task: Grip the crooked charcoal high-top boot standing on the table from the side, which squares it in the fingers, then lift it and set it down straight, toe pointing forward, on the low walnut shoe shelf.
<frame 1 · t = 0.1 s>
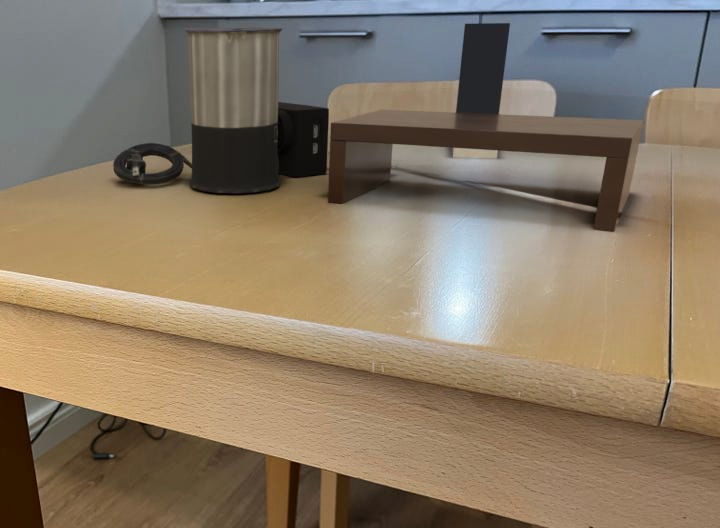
milk frother: (197, 186, 77), on the table
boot: (472, 151, 96), on the table
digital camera: (279, 171, 85), on the table
shoe shelf: (477, 201, 69), on the table
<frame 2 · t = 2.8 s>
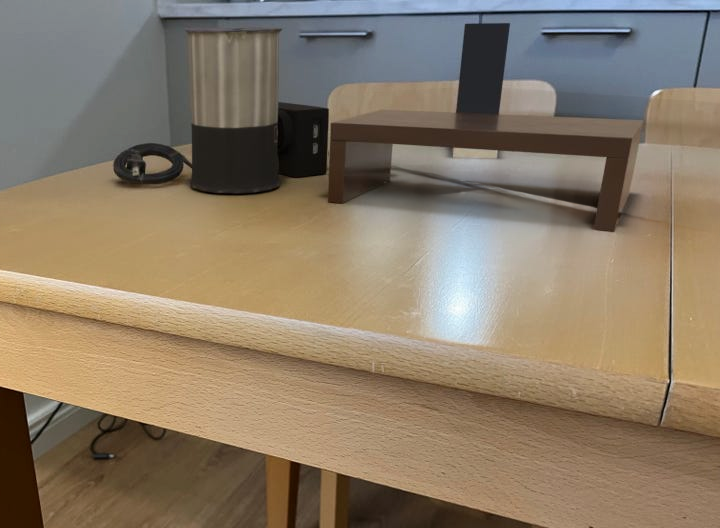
nothing on the table moved.
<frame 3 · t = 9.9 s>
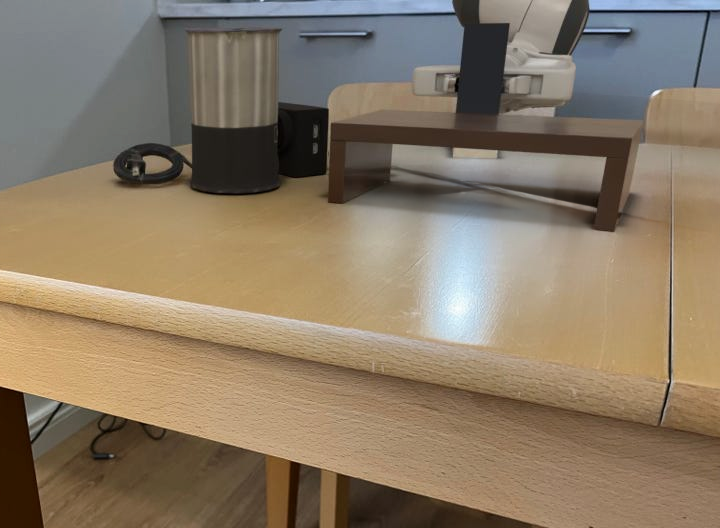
hand: (478, 85, 92), 8 cm above the table, tool horizontal, fingers closed on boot, 5 cm apart
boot: (472, 151, 96), on the table, touching gripper
everything else where it was.
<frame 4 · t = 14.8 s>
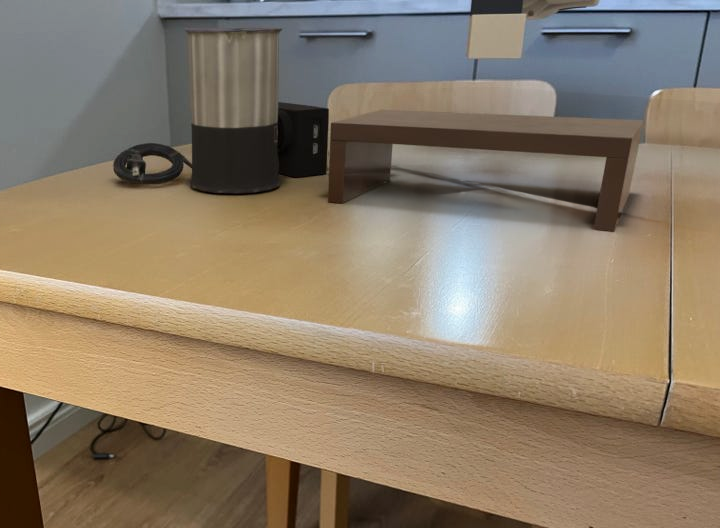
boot: (490, 56, 81), point 12 cm above the table, touching gripper
everything else where it was.
when the fingers open (15 cm above the table, at t = 19.9 s): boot stays where it is, resting on shoe shelf.
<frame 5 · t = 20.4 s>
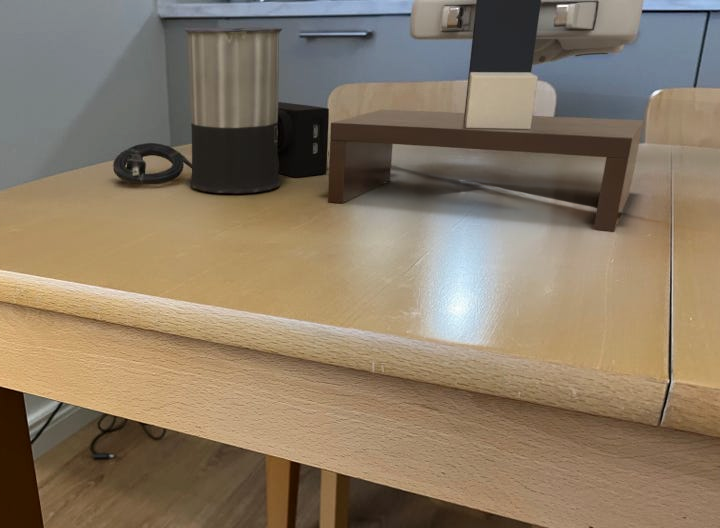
hand: (505, 16, 64), 15 cm above the table, tool horizontal, fingers open, 8 cm apart
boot: (493, 117, 68), point 7 cm above the table, touching shoe shelf
everything else where it was.
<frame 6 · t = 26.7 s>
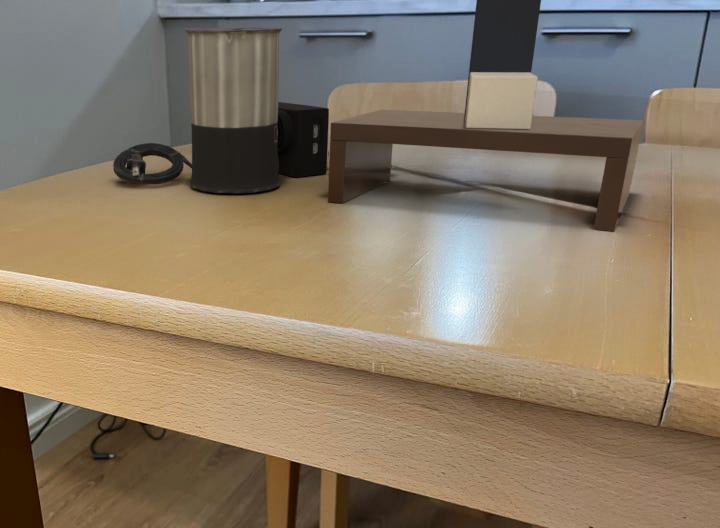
nothing on the table moved.
at the end: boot inside the target area on the shoe shelf (1.3 cm from its centre), point 7.0 cm above the shoe shelf's base; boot tilted 0°; the gripper is holding nothing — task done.
